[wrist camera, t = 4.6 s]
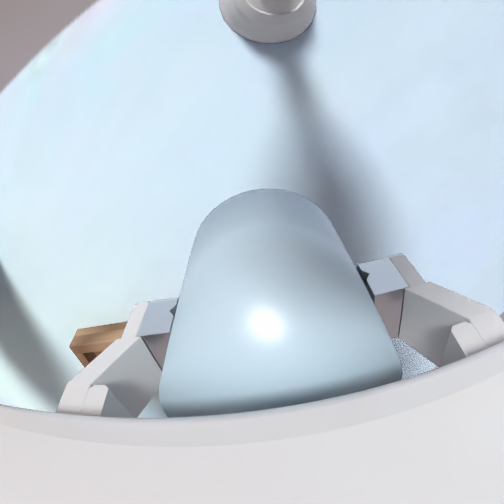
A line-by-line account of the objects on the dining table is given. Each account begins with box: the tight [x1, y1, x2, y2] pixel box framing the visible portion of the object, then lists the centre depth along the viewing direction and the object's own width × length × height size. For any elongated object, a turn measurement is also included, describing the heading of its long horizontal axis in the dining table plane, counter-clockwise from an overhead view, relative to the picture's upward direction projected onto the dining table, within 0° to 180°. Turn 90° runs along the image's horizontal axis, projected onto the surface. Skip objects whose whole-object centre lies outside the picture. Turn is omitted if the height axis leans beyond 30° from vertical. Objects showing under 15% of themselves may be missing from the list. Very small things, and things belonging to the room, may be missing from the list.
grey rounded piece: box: [159, 189, 402, 418], centre depth 9 cm, size 5×5×6 cm
